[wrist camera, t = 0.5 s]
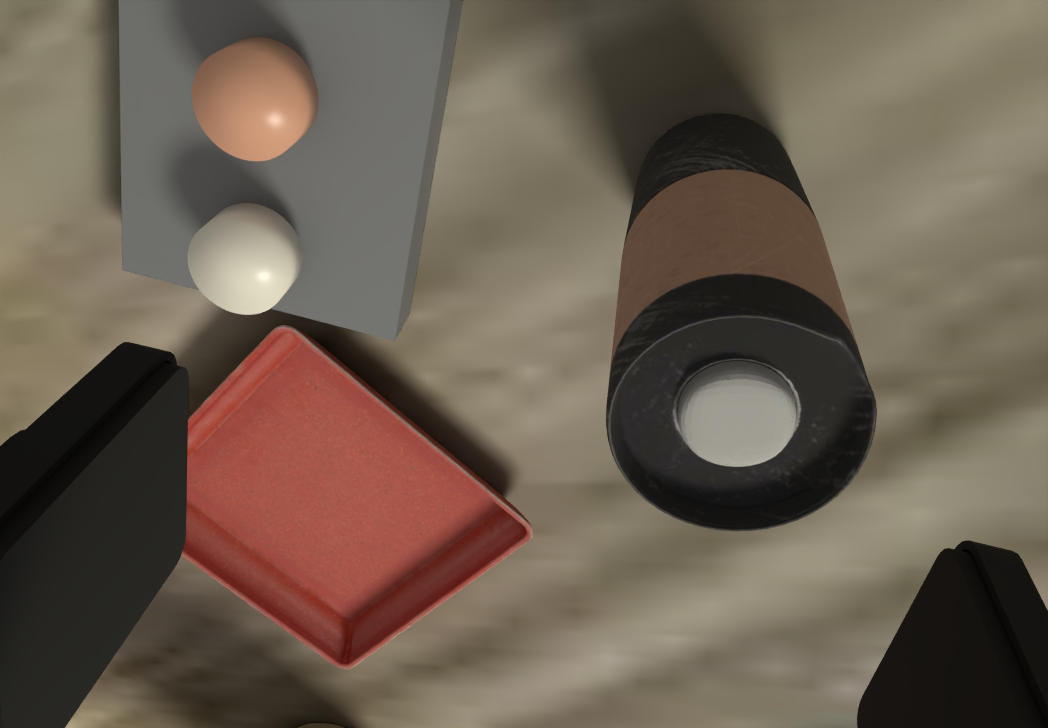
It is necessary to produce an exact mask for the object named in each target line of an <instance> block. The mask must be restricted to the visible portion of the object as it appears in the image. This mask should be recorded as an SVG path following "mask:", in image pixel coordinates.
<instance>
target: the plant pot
mask: <svg viewBox="0 0 1048 728" xmlns="http://www.w3.org/2000/svg"><path fill="white" fill-rule="evenodd" d="M297 728H345V727H341V726H338V725H334V724H328V723H311V724H306V725H302V726H300V727H297Z"/></svg>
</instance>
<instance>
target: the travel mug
mask: <svg viewBox="0 0 1048 728" xmlns="http://www.w3.org/2000/svg"><path fill="white" fill-rule="evenodd" d="M876 416H877V408H876V400H875V397H874V393H873V391H872V389H871V386H870V384H869V381H868V378H867V375H866V372H865V369H864V365H863V362H862V359H861V356H860V353H859V350H858V346H857V343H856V340H855V337H854V334H853V331H852V327H851V324H850V321H849V318H848V315H847V312H846V308H845V305H844V302H843V299H842V296H841V292H840V289H839V286H838V283H837V280H836V277H835V273H834V270H833V267H832V264H831V261H830V257H829V254H828V251H827V248H826V245H825V242H824V238H823V235H822V232H821V229H820V227H819V224H818V222H817V219H816V217H815V215H814V212H813V210H812V208H811V206H810V203H809V201H808V199H807V196H806V194H805V192H804V190H803V187H802V185H801V183H800V180H799V178H798V176H797V174H796V171H795V169H794V167H793V165H792V163H791V161H790V159H789V157H788V155H787V153H786V151H785V150H784V148H783V147H782V145H781V144H780V142H779V141H778V140H777V139H776V138H775V136H774V135H773V134H771V133H770V132H769V131H768V130H767V129H765V128H764V127H762V126H761V125H759V124H758V123H756V122H753V121H751V120H749V119H746V118H743V117H740V116H735V115H729V114H711V115H704V116H699V117H695V118H692V119H690V120H687V121H685V122H683V123H681V124H679V125H677V126H675V127H674V128H672V129H671V130H669V131H668V132H667V133H666V134H664V135H663V136H662V137H661V138H660V139H659V140H658V141H657V142H656V144H655V145H654V146H653V147H652V149H651V150H650V152H649V153H648V155H647V157H646V159H645V161H644V163H643V165H642V168H641V171H640V174H639V177H638V181H637V185H636V190H635V195H634V199H633V204H632V209H631V214H630V219H629V224H628V228H627V233H626V238H625V243H624V249H623V254H622V262H621V272H620V282H619V291H618V301H617V311H616V320H615V330H614V340H613V349H612V359H611V369H610V378H609V388H608V397H607V409H606V427H607V435H608V441H609V445H610V448H611V452H612V455H613V457H614V459H615V462H616V464H617V466H618V468H619V469H620V471H621V473H622V474H623V476H624V477H625V479H626V480H627V481H628V483H629V484H630V485H631V486H632V487H633V488H634V490H635V491H636V492H637V493H638V494H640V495H641V496H642V497H643V498H644V499H645V500H646V501H647V502H649V503H650V504H652V505H653V506H655V507H656V508H657V509H659V510H661V511H662V512H664V513H666V514H668V515H670V516H672V517H674V518H676V519H679V520H681V521H684V522H686V523H689V524H693V525H696V526H700V527H704V528H709V529H715V530H724V531H753V530H762V529H768V528H773V527H777V526H781V525H785V524H788V523H791V522H793V521H796V520H799V519H801V518H803V517H805V516H808V515H810V514H812V513H814V512H815V511H817V510H819V509H820V508H822V507H823V506H825V505H827V504H828V503H829V502H830V501H832V500H833V499H834V498H835V497H837V496H838V495H839V494H840V493H841V492H842V491H843V490H844V489H845V488H846V487H847V486H848V485H849V484H850V482H851V481H852V480H853V479H854V477H855V476H856V475H857V473H858V472H859V470H860V468H861V466H862V465H863V463H864V461H865V459H866V457H867V454H868V452H869V449H870V447H871V444H872V440H873V436H874V432H875V426H876Z"/></svg>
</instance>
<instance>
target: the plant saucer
mask: <svg viewBox="0 0 1048 728" xmlns="http://www.w3.org/2000/svg"><path fill="white" fill-rule="evenodd" d="M532 536H533V528H532V526H531V524H530V523H529V522H528V520H527V519H526V518H525V517H524V516H523V515H522V514H521V513H520V512H519V511H518V510H517V509H516V508H515V507H514V506H513V505H512V504H511V503H510V502H508V501H507V500H506V499H505V498H504V497H503V496H501V495H500V494H499V493H498V492H497V491H495V490H494V489H493V488H492V487H491V486H490V485H488V484H487V483H486V482H485V481H484V480H482V479H481V478H480V477H479V476H478V475H476V474H475V473H474V472H473V471H472V470H470V469H469V468H468V467H467V466H466V465H464V464H463V463H462V462H461V461H459V460H458V459H457V458H456V457H455V456H453V455H452V454H451V453H450V452H449V451H447V450H446V449H445V448H444V447H443V446H441V445H440V444H439V443H438V442H437V441H435V440H434V439H433V438H432V437H430V436H429V435H428V434H427V433H426V432H425V431H423V430H422V429H421V428H420V427H419V426H417V425H416V424H415V423H414V422H413V421H411V420H410V419H409V418H408V417H407V416H405V415H404V414H403V413H402V412H401V411H399V410H398V409H397V408H396V407H395V406H393V405H392V404H391V403H390V402H389V401H388V400H386V399H385V398H384V397H383V396H381V395H380V394H379V393H378V392H377V391H375V390H374V389H373V388H372V387H371V386H369V385H368V384H367V383H366V382H365V381H363V380H362V379H361V378H360V377H359V376H358V375H356V374H355V373H354V372H353V371H352V370H350V369H349V368H348V367H347V366H346V365H344V364H343V363H342V362H341V361H340V360H338V359H337V358H336V357H335V356H334V355H333V354H331V353H330V352H329V351H328V350H326V349H325V348H324V347H323V346H321V345H320V344H319V343H318V342H316V341H315V340H314V339H313V338H311V337H310V336H309V335H307V334H306V333H304V332H303V331H301V330H299V329H297V328H295V327H292V326H289V325H280V326H278V327H276V328H274V329H273V330H272V331H271V332H270V333H269V334H268V335H267V336H266V337H265V338H264V339H263V340H262V342H261V343H260V344H259V345H258V346H257V347H256V348H255V349H254V350H253V351H252V352H251V353H250V354H249V355H248V356H247V357H246V358H245V359H244V360H243V361H242V362H241V363H240V364H239V366H238V367H237V368H236V369H235V370H234V371H233V372H232V373H231V374H230V375H229V376H228V377H227V378H226V379H225V380H224V381H223V382H222V383H221V384H220V385H219V386H218V387H217V389H216V390H215V391H214V392H213V393H212V394H211V395H210V396H209V397H208V398H207V399H206V400H205V401H204V402H203V403H202V405H201V406H200V407H199V408H198V409H197V410H196V411H195V412H194V413H193V414H192V415H191V416H190V417H189V419H188V456H187V515H186V540H185V545H184V548H183V551H182V554H181V556H183V557H184V558H185V559H187V560H188V561H190V562H191V563H193V564H194V565H195V566H197V567H198V568H199V569H201V570H202V571H204V572H205V573H207V574H208V575H209V576H210V577H212V578H213V579H215V580H216V581H218V582H219V583H220V584H221V585H223V586H224V587H226V588H227V589H229V590H230V591H232V592H233V593H234V594H236V595H237V596H238V597H240V598H241V599H243V600H244V601H245V602H247V603H248V604H249V605H251V606H252V607H253V608H255V609H256V610H258V611H259V612H261V613H262V614H263V615H265V616H266V617H268V618H269V619H270V620H272V621H273V622H275V623H276V624H278V625H279V626H280V627H282V628H283V629H284V630H285V631H287V632H288V633H290V634H292V635H293V636H294V637H296V638H297V639H298V640H299V641H301V642H302V643H304V644H305V645H307V646H308V647H309V648H311V649H312V650H313V651H314V652H316V653H317V654H319V655H320V656H322V657H323V658H325V659H326V660H327V661H329V662H330V663H332V664H333V665H335V666H336V667H340V668H343V669H351V668H353V667H354V666H356V665H357V664H359V663H360V662H361V661H362V660H364V659H365V658H367V657H368V656H370V655H371V654H373V653H374V652H376V651H377V650H378V649H379V648H381V647H382V646H384V645H385V644H386V643H388V642H389V641H391V640H392V639H393V638H395V637H396V636H397V635H399V634H400V633H402V632H403V631H405V630H406V629H407V628H409V627H410V626H412V625H413V624H414V623H415V622H416V621H418V620H420V619H421V618H422V617H424V616H425V615H427V614H428V613H430V612H431V611H432V610H434V609H435V608H436V607H437V606H439V605H440V604H442V603H444V602H445V601H447V600H448V599H449V598H451V597H452V596H453V595H454V594H456V593H457V592H459V591H460V590H461V589H463V588H464V587H465V586H467V585H468V584H470V583H471V582H472V581H474V580H475V579H476V578H478V577H480V576H481V575H483V574H484V573H485V572H486V571H488V570H489V569H490V568H492V567H493V566H495V565H496V564H497V563H499V562H501V561H502V560H503V559H504V558H506V557H507V556H509V555H510V554H512V553H513V552H514V551H516V550H517V549H518V548H520V547H521V546H523V545H524V544H525V543H527V542H528V541H529V540H530V539H531V538H532Z"/></svg>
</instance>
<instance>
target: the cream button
mask: <svg viewBox="0 0 1048 728" xmlns="http://www.w3.org/2000/svg"><path fill="white" fill-rule="evenodd" d="M187 259H188V267H189V271H190V274H191V276H192V279H193V281H194V282H195V284H196V286H197V287H198V288H199V290H200V291H201V292H202V293H203V294H204V296H205V297H207V298H208V299H209V300H210V301H211V302H213V303H214V304H215V305H217V306H219V307H221V308H222V309H225V310H227V311H230V312H233V313H237V314H244V315H253V314H259V313H262V312H265V311H267V310H269V309H270V308H272V307H273V306H274V305H275V304H277V303H278V301H279V300H280V299H281V298H282V297H283V295H284V294H285V293H286V292H287V290H288V289H289V288H290V287H291V286H292V284H293V283H294V282H295V281H296V279H297V278H298V276H299V274H300V272H301V269H302V265H303V250H302V246H301V243H300V240H299V238H298V236H297V234H296V232H295V230H294V229H293V228H292V226H291V225H290V224H289V223H288V222H287V221H286V220H285V219H284V218H283V217H282V216H281V215H279V214H278V213H277V212H275V211H273V210H272V209H269V208H267V207H265V206H262V205H259V204H254V203H239V204H234V205H231V206H229V207H227V208H225V209H223V210H222V211H221V212H219V213H218V214H217V215H216V216H215V217H214V218H212V219H211V220H210V221H209V222H208V223H207V224H206V225H204V226H203V227H202V228H201V229H200V230H199V231H198V232H197V233H196V234H195V235H194V237H193V238H192V240H191V242H190V244H189V248H188V255H187Z"/></svg>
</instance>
